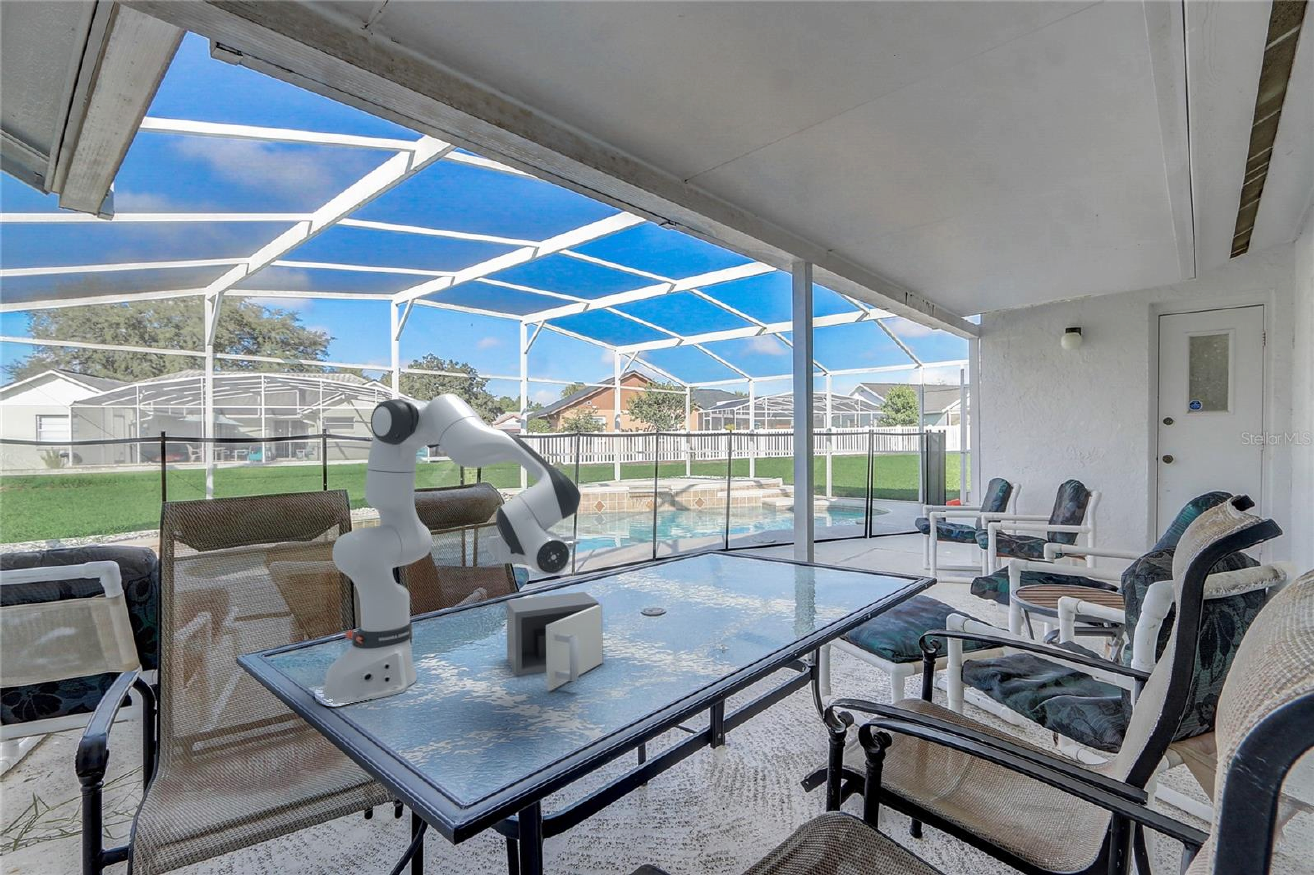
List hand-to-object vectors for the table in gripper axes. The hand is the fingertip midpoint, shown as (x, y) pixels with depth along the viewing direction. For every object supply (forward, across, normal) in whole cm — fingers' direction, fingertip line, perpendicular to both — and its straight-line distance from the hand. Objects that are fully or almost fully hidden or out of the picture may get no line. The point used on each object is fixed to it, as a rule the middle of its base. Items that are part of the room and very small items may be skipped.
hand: (526, 538), depth 147 cm
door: (-7, -13, +34) cm, 37 cm away
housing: (+10, -9, +35) cm, 37 cm away
